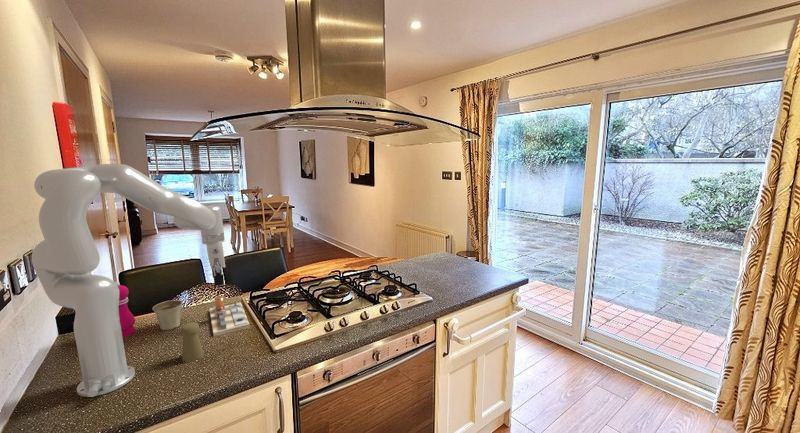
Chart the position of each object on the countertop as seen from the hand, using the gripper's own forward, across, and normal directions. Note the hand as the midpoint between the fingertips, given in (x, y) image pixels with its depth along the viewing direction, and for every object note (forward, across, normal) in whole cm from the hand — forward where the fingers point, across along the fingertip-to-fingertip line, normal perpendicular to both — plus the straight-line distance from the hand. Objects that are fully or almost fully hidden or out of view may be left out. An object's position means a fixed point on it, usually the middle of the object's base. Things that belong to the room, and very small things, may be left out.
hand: (218, 280), depth 132 cm
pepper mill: (+16, +6, +32) cm, 36 cm away
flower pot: (+16, +4, +18) cm, 24 cm away
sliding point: (+14, 0, -2) cm, 14 cm away
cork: (+16, -24, +11) cm, 31 cm away
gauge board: (+16, -2, -2) cm, 16 cm away
